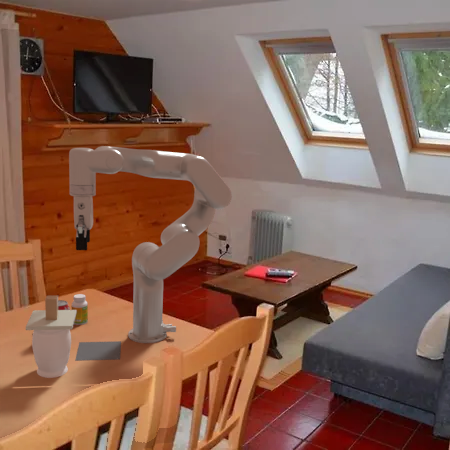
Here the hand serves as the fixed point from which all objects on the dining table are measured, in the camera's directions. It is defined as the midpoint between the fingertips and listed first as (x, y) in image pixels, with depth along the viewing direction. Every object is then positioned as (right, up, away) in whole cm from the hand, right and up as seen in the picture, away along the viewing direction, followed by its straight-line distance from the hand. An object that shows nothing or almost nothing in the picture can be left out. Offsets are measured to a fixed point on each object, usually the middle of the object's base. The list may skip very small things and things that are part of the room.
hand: (83, 245), depth 170 cm
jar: (-6, -35, -11) cm, 38 cm away
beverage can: (-10, -30, +11) cm, 34 cm away
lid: (-5, -20, -14) cm, 25 cm away
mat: (+4, -33, +3) cm, 33 cm away
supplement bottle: (-7, -28, +25) cm, 38 cm away
